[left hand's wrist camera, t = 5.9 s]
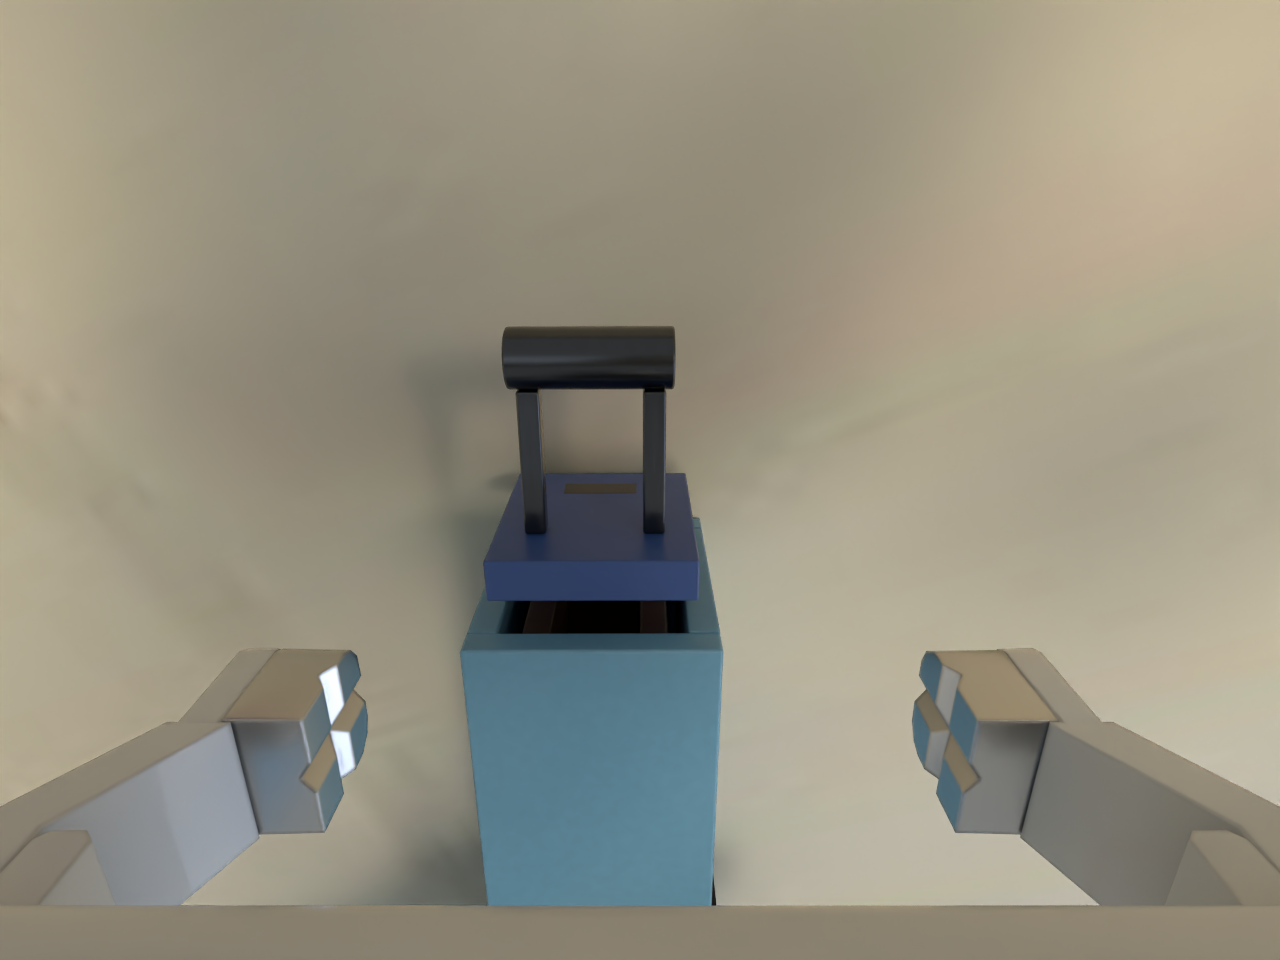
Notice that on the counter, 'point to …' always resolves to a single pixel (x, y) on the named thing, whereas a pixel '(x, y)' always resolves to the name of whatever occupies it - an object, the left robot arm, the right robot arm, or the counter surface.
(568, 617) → the drawer
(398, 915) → the left robot arm
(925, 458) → the counter surface
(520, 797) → the light-blue storage box
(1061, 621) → the counter surface
